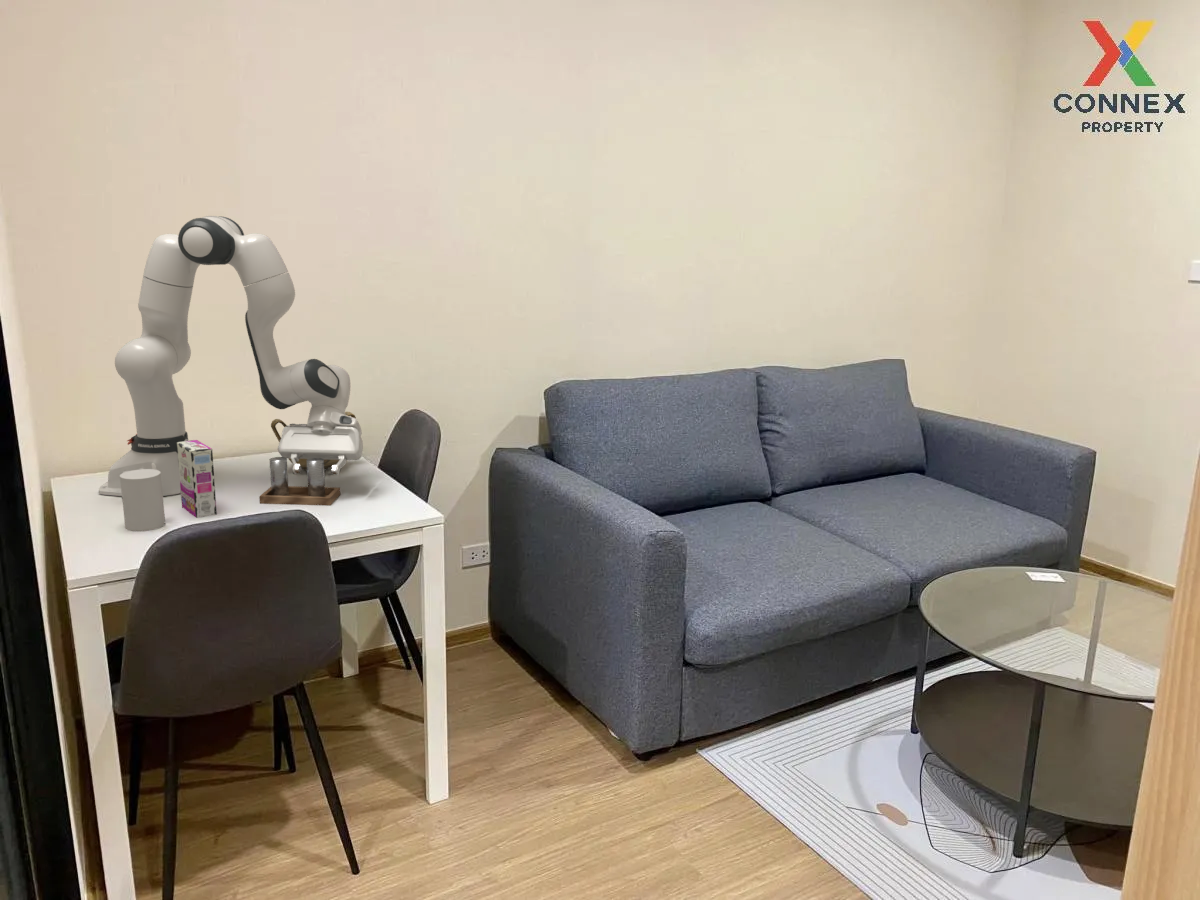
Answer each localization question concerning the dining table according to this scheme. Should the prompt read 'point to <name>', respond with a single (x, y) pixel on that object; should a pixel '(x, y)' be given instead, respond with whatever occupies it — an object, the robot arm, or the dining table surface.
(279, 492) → the cylinder
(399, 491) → the dining table surface
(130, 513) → the cup
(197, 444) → the candy bar box
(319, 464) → the cylinder
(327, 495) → the tray
